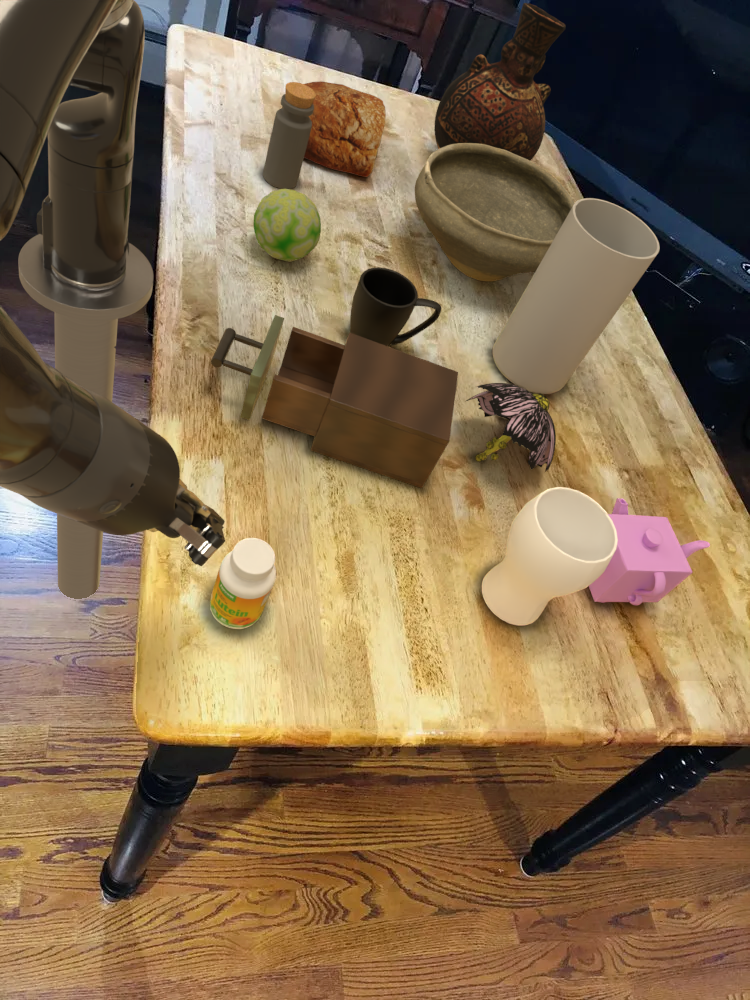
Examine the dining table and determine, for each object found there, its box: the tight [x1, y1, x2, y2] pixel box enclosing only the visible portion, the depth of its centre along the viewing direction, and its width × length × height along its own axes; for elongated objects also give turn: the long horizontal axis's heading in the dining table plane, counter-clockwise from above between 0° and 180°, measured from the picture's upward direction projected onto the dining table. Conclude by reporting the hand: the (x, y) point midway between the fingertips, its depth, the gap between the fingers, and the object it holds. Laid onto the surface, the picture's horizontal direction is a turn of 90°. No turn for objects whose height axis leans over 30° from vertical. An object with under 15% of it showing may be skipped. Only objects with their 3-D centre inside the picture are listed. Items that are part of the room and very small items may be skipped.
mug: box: [349, 266, 442, 347], centre depth 105 cm, size 8×12×10 cm
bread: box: [281, 81, 387, 178], centre depth 135 cm, size 20×18×10 cm
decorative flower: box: [465, 382, 557, 473], centre depth 100 cm, size 15×12×15 cm
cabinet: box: [310, 332, 459, 489], centre depth 94 cm, size 15×13×9 cm
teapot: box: [588, 497, 711, 606], centre depth 92 cm, size 18×13×10 cm
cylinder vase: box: [492, 197, 660, 395], centre depth 107 cm, size 12×12×25 cm
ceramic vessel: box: [434, 2, 566, 161], centre depth 138 cm, size 21×18×30 cm
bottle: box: [262, 81, 316, 190], centre depth 121 cm, size 6×6×15 cm
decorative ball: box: [253, 188, 322, 262], centre depth 111 cm, size 10×10×10 cm
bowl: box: [414, 143, 575, 282], centre depth 125 cm, size 28×28×14 cm
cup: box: [481, 486, 618, 626], centre depth 83 cm, size 11×11×15 cm
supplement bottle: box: [209, 537, 277, 630], centre depth 73 cm, size 5×5×10 cm
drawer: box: [210, 314, 345, 437], centre depth 92 cm, size 19×11×7 cm, turn 81°
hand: (211, 525), depth 63 cm, fingers closed
